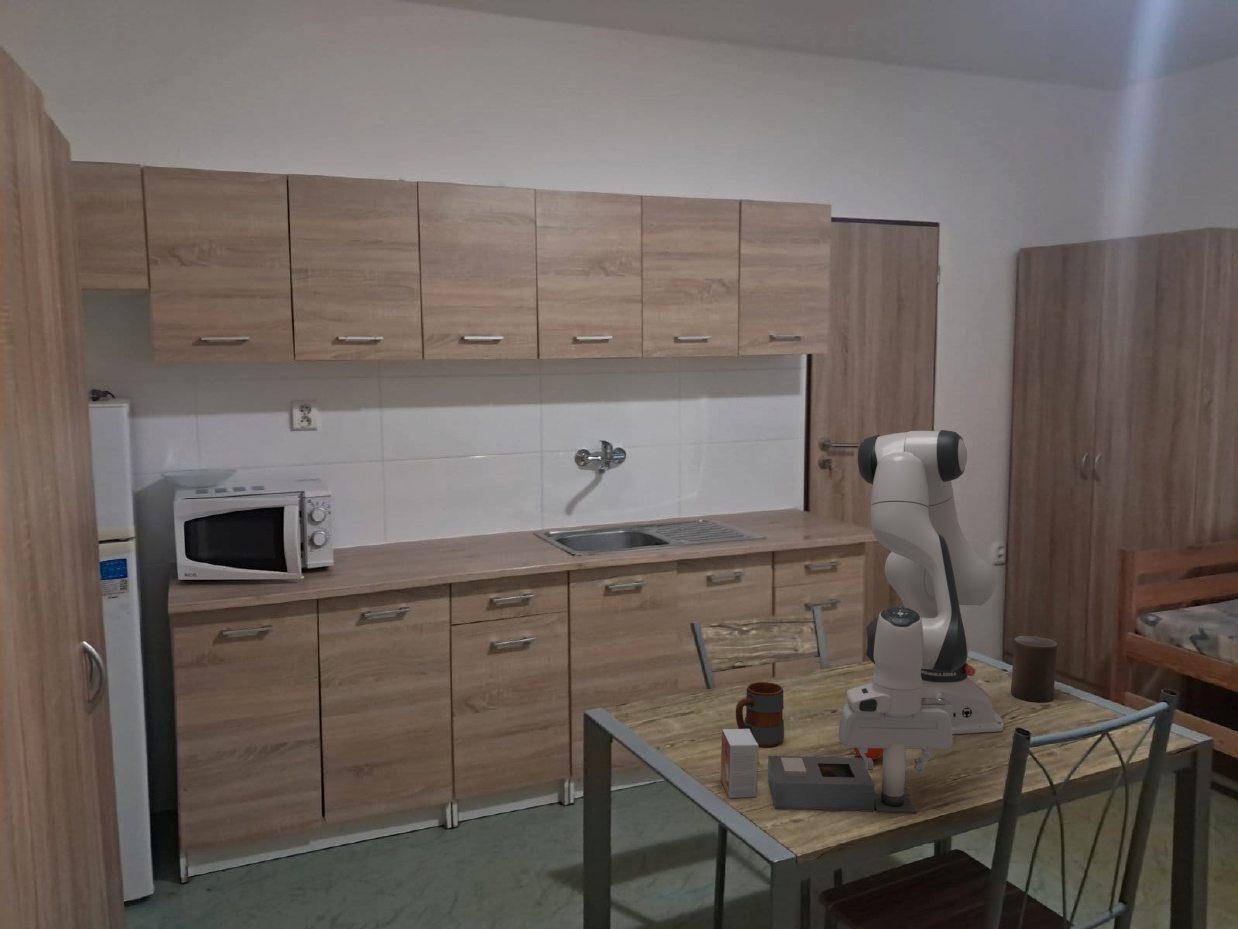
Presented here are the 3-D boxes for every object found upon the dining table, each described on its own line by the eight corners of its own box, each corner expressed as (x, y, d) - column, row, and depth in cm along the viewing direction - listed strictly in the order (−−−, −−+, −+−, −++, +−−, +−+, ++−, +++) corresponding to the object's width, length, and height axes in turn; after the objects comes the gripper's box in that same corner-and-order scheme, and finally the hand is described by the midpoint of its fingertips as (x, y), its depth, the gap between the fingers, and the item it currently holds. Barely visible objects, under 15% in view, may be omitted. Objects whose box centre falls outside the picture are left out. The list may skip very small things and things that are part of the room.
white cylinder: (900, 797, 187) (903, 736, 186) (905, 807, 183) (908, 745, 182) (879, 796, 187) (881, 735, 186) (883, 807, 183) (886, 744, 182)
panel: (860, 782, 194) (861, 753, 194) (873, 811, 183) (875, 779, 182) (767, 780, 195) (768, 751, 194) (775, 808, 183) (775, 777, 182)
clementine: (847, 749, 210) (848, 716, 209) (880, 750, 210) (881, 717, 209) (854, 765, 202) (856, 731, 202) (889, 766, 202) (890, 732, 201)
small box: (720, 780, 195) (721, 728, 194) (748, 779, 195) (749, 727, 194) (728, 799, 187) (729, 745, 186) (757, 798, 188) (758, 744, 186)
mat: (906, 796, 189) (906, 794, 189) (916, 813, 182) (916, 811, 182) (869, 795, 189) (869, 793, 189) (877, 812, 182) (877, 810, 182)
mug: (722, 740, 214) (724, 688, 213) (765, 729, 221) (767, 678, 219) (748, 754, 207) (750, 700, 206) (792, 742, 213) (793, 690, 212)
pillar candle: (1037, 705, 237) (1042, 644, 235) (1002, 693, 245) (1006, 633, 243) (1062, 698, 242) (1066, 638, 240) (1026, 686, 250) (1030, 628, 248)
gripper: (949, 692, 186) (945, 763, 187) (838, 690, 186) (835, 761, 188) (959, 704, 179) (955, 778, 181) (844, 702, 180) (842, 775, 182)
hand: (893, 769), depth 185 cm, fingers open, 8 cm apart
